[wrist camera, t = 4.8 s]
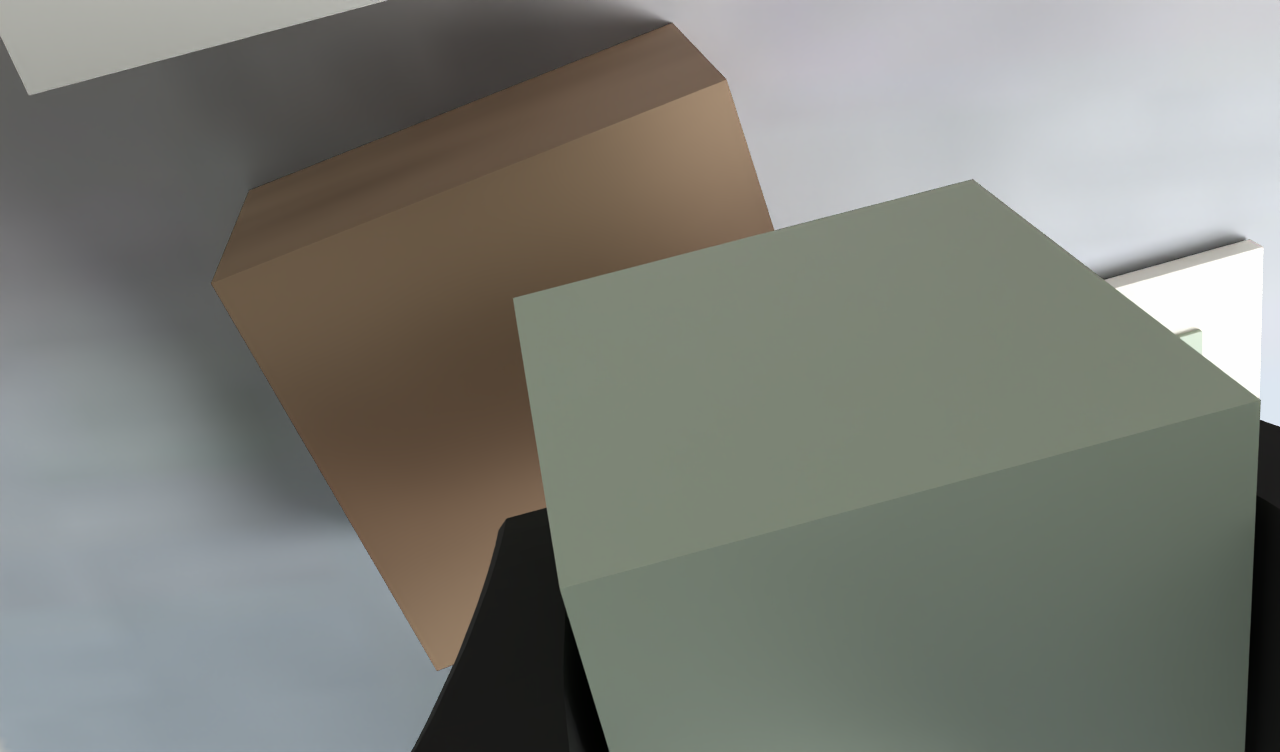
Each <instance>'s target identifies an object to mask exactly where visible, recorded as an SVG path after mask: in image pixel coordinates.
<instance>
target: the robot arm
mask: <svg viewBox="0 0 1280 752" xmlns="http://www.w3.org/2000/svg"><path fill="white" fill-rule="evenodd" d="M411 752H609V749H608V745H607V742H606V739H605V736H604V732H603V729H602V726H601V722H600V719H599V716H598V713H597V709H596V706H595V703H594V699H593V696H592V693H591V690H590V686H589V683H588V680H587V676H586V673H585V670H584V667H583V663H582V660H581V657H580V654H579V650H578V647H577V644H576V640H575V637H574V634H573V631H572V627H571V624H570V621H569V617H568V614H567V611H566V608H565V604H564V601H563V598H562V594H561V591H560V587H559V581H558V575H557V569H556V562H555V556H554V550H553V544H552V538H551V531H550V525H549V519H548V513H547V508H543V509H540V510H536V511H532V512H528V513H525V514H521V515H517V516H513V517H510V518H506V520H505V521H504V523H503V524H502V526H501V527H500V529H499V530H498V535H497V539H496V544H495V548H494V552H493V555H492V559H491V563H490V566H489V569H488V573H487V576H486V579H485V582H484V585H483V588H482V591H481V594H480V597H479V600H478V603H477V606H476V609H475V611H474V614H473V617H472V619H471V622H470V624H469V627H468V630H467V632H466V635H465V637H464V640H463V643H462V645H461V648H460V650H459V653H458V655H457V658H456V660H455V662H454V665H453V667H452V669H451V671H450V674H449V676H448V678H447V680H446V682H445V684H444V686H443V689H442V691H441V693H440V695H439V697H438V699H437V701H436V703H435V706H434V708H433V710H432V712H431V714H430V716H429V718H428V721H427V723H426V725H425V726H424V728H423V730H422V732H421V734H420V736H419V738H418V740H417V742H416V744H415V745H414V747H413V749H412V751H411ZM1245 752H1280V427H1279V426H1276V425H1273V424H1270V423H1267V422H1265V421H1262V420H1260V426H1259V448H1258V470H1257V491H1256V513H1255V535H1254V557H1253V579H1252V601H1251V623H1250V645H1249V667H1248V689H1247V711H1246V733H1245Z"/></svg>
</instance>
